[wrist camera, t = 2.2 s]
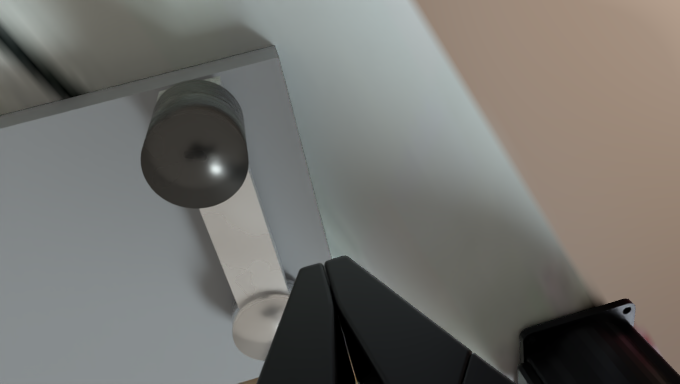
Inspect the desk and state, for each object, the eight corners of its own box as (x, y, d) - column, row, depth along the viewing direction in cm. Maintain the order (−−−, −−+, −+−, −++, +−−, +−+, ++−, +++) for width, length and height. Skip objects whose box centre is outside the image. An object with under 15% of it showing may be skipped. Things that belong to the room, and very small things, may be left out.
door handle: (315, 324, 23) (333, 400, 20) (244, 345, 23) (248, 425, 20) (234, 58, 17) (238, 99, 14) (136, 83, 17) (115, 132, 14)
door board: (274, 45, 19) (285, 74, 16) (374, 425, 30) (392, 485, 27) (-156, 155, 18) (-232, 208, 15) (111, 507, 29) (99, 579, 26)
